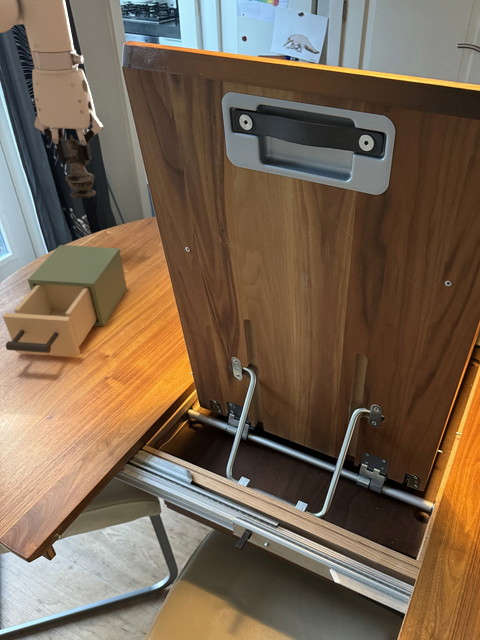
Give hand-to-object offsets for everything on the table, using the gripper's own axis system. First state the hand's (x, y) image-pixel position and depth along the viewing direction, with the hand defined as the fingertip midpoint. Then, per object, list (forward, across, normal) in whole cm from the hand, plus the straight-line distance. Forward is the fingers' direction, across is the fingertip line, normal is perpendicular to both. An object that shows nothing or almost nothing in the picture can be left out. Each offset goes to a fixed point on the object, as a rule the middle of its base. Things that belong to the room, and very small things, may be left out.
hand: (76, 162), depth 107 cm
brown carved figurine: (+7, 0, 0) cm, 7 cm away
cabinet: (+23, -4, +18) cm, 30 cm away
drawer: (+22, -4, +33) cm, 40 cm away
